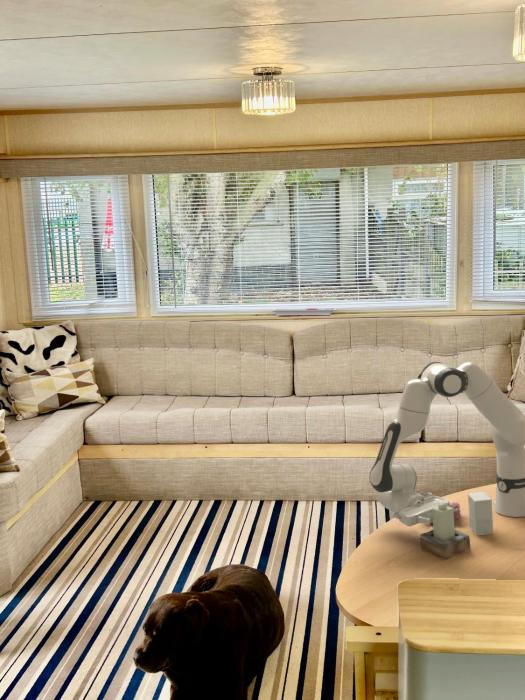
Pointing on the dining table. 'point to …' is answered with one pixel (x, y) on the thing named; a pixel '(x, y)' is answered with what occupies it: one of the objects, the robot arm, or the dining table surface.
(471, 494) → the small box
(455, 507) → the video game controller
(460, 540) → the gray square frame
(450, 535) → the tower brick
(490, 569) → the dining table surface
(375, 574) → the dining table surface
